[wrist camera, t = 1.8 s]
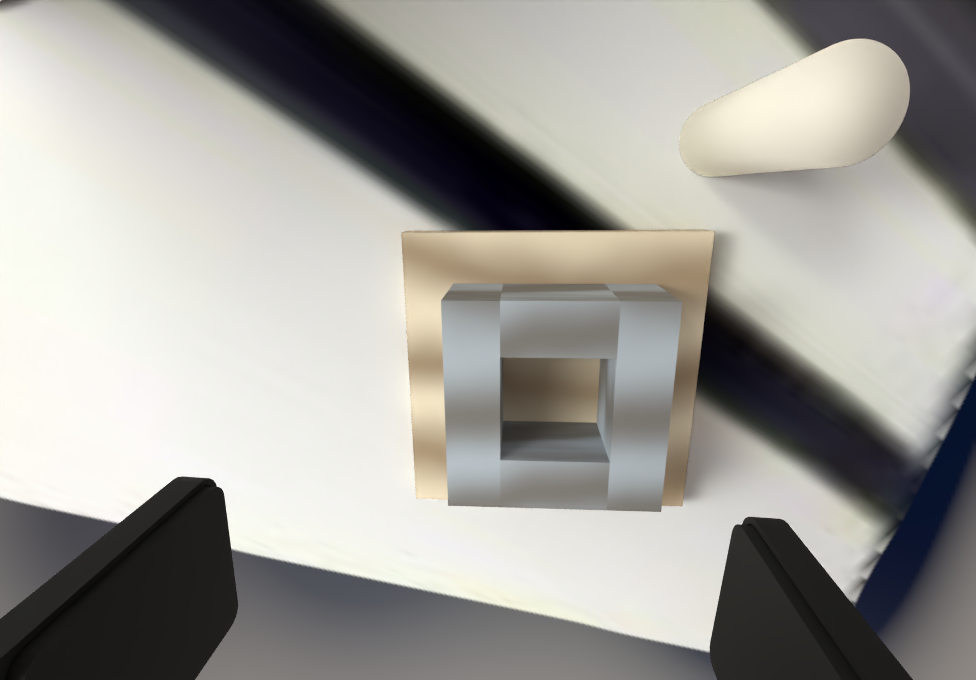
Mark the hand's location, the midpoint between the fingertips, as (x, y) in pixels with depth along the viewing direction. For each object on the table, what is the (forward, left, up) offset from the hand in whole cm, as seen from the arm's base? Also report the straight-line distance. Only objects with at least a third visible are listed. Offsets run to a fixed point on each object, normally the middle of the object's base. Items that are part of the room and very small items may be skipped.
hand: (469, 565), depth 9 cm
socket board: (+5, +3, -24) cm, 24 cm away
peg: (-9, +12, -24) cm, 28 cm away
